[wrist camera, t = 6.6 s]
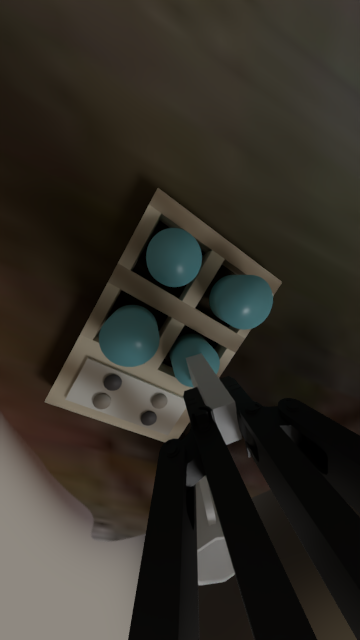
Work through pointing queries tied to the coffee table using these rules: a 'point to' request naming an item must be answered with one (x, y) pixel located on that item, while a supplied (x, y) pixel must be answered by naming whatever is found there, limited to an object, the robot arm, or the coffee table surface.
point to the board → (153, 376)
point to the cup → (210, 539)
